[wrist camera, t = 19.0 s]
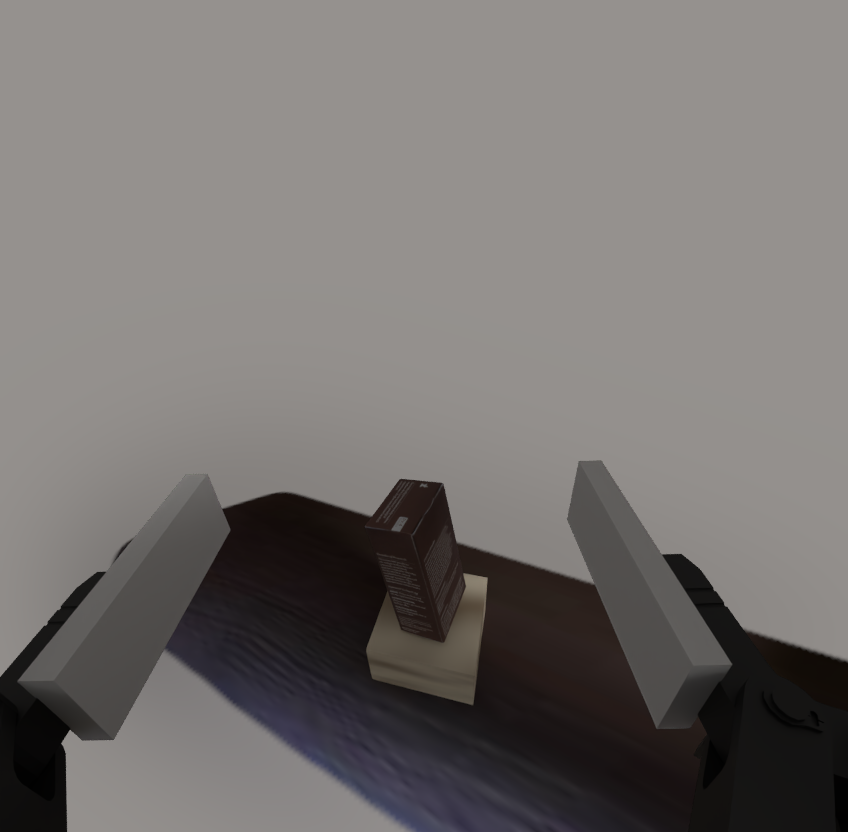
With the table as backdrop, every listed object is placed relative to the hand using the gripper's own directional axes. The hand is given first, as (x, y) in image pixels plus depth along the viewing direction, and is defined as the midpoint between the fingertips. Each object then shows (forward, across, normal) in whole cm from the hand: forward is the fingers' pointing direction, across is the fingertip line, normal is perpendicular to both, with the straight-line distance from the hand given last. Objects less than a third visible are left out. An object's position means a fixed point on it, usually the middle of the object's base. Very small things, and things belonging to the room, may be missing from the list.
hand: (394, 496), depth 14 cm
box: (+11, +1, -23) cm, 26 cm away
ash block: (+11, +1, -28) cm, 30 cm away
